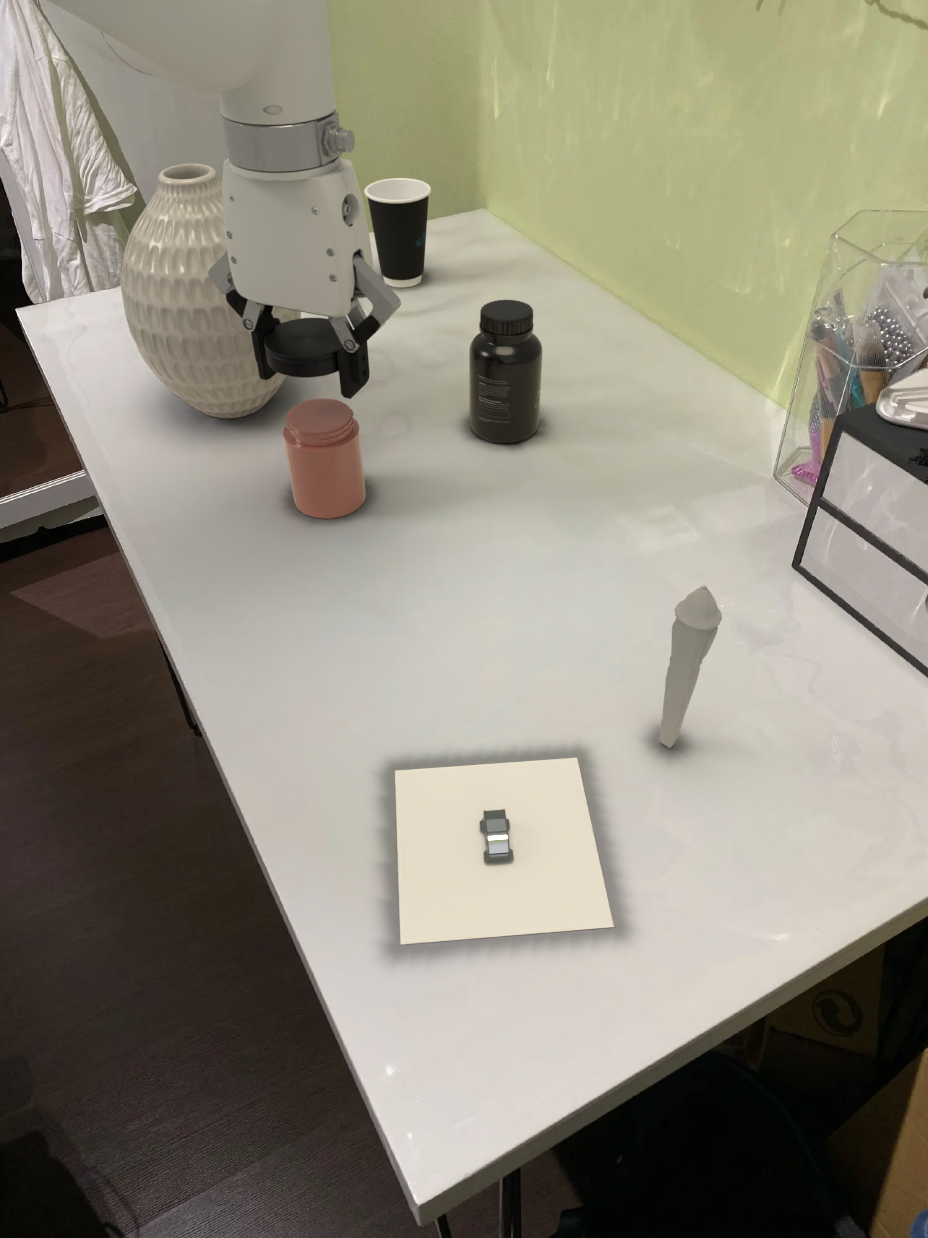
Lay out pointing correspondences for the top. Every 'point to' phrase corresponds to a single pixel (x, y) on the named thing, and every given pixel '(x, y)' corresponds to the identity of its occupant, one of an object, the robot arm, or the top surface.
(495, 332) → the supplement bottle
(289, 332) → the jar lid
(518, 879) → the cream paper sheet
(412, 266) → the dixie cup
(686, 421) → the top surface
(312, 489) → the cream jar
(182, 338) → the vase
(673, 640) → the grey tapered bar
